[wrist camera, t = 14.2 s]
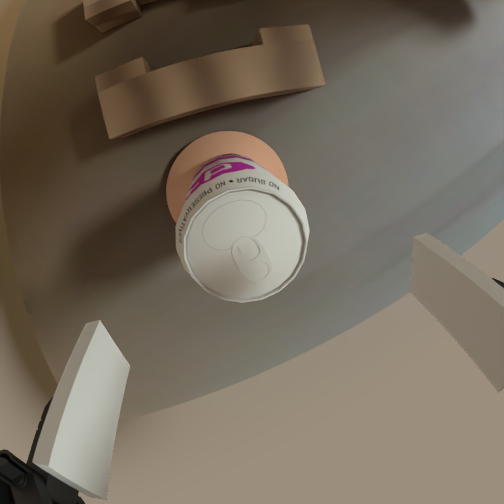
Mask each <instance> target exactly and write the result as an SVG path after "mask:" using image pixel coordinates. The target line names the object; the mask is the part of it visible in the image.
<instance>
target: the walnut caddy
mask: <svg viewBox="0 0 504 504" xmlns="http://www.w3.org/2000/svg"><path fill="white" fill-rule="evenodd" d="M153 1H156V0H83V5H84V14H85V20H86V21H87V22H89V23H90V24H91V25H92V26H94V27H95V28H96V29H97V30H99V31H100V32H101V33H103V32H105V31H108V30H110V29H112V28H115V27H117V26H119V25H122V24H124V23H127V22H129V21H132V20H135V19H138V18H140V17H142V15H141V10H140V6H141V5H144V4H146V3H149V2H153ZM94 78H95V82H96V87H97V92H98V96H99V101H100V105H101V109H102V113H103V117H104V121H105V125H106V129H107V132H108V136H109V139H116V138H123V137H127V136H130V135H132V134H135V133H138V132H140V131H143V130H146V129H149V128H152V127H154V126H157V125H160V124H163V123H166V122H169V121H173V120H176V119H179V118H182V117H186V116H189V115H193V114H196V113H200V112H203V111H207V110H211V109H215V108H219V107H223V106H227V105H231V104H236V103H240V102H245V101H250V100H255V99H260V98H265V97H271V96H277V95H283V94H289V93H296V92H304V91H309V90H312V89H315V88H318V87H321V86H324V85H325V82H324V78H323V74H322V70H321V66H320V62H319V58H318V54H317V51H316V47H315V43H314V40H313V36H312V33H311V30H310V26H309V24H308V25H289V26H277V27H268V28H259V30H258V32H257V34H256V36H255V38H254V39H253V41H252V46H250V47H244V48H238V49H233V50H228V51H223V52H218V53H214V54H209V55H205V56H201V57H197V58H193V59H190V60H186V61H182V62H179V63H176V64H172V65H169V66H166V67H163V68H160V69H157V70H153V67H152V66H151V65H150V64H149V63H148V62H147V61H146V60H145V59H144V58H143V57H140V58H138V59H135V60H132V61H130V62H127V63H125V64H122V65H120V66H117V67H115V68H113V69H110V70H108V71H106V72H104V73H101V74H99V75H97V76H95V77H94Z"/></svg>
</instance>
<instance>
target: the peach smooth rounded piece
mask: <svg viewBox="0 0 504 504" xmlns="http://www.w3.org/2000/svg"><path fill="white" fill-rule="evenodd" d="M230 153H234V154H239V155H243V156H247V157H249V158H250V159H252V160H253V161H255V162H256V163H258V164H259V165H260V166H262V167H263V168H264V169H266V170H267V171H268V172H270V173H271V174H272V175H273V176H275V177H276V178H277V179H279V180H280V181H281V182H283V183H284V184H285V185H286V186H288V180H287V175H286V171H285V169H284V166H283V164H282V162H281V160H280V159H279V157H278V156H277V154H276V153H275V152H274V151H273V150H272V149H271V148H270V147H269V146H268V145H267V144H266V143H264V142H263V141H262V140H260V139H258V138H256V137H254V136H252V135H249V134H246V133H242V132H237V131H220V132H215V133H211V134H208V135H205V136H203V137H201V138H199V139H197V140H195V141H194V142H192V143H191V144H189V145H188V146H187V147H186V148H185V149H184V150H183V151H182V152H181V153H180V154H179V156H178V157H177V158H176V160H175V162H174V163H173V165H172V167H171V170H170V172H169V176H168V179H167V185H166V197H167V203H168V207H169V211H170V213H171V215H172V217H173V219H174V221H175V223H176V224H177V221H178V218H179V215H180V213H181V210H182V207H183V204H184V201H185V199H186V196H187V193H188V191H189V188H190V185H191V183H192V180H193V178H194V175H195V173H196V171H197V170H198V169H199V168H200V167H201V166H202V165H203V164H204V163H205V162H206V161H208V160H210V159H212V158H213V157H215V156H217V155H222V154H230Z"/></svg>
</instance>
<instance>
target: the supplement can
mask: <svg viewBox="0 0 504 504" xmlns="http://www.w3.org/2000/svg"><path fill="white" fill-rule="evenodd" d="M308 237H309V226H308V221H307V216H306V211H305V208H304V207H303V205H302V204H301V202H300V201H299V199H298V198H297V196H296V195H295V193H294V192H293V190H291V189H290V188H289V187H288V186H286V185H285V184H284V183H283V182H281V181H280V180H279V179H277V178H276V177H275V176H273V175H272V174H271V173H270V172H268V171H267V170H266V169H264V168H263V167H262V166H260V165H259V164H258V163H256V162H255V161H253V160H252V159H250V158H249V157H247V156H243V155H239V154H234V153H230V154H222V155H217V156H215V157H213V158H212V159H210V160H208V161H206V162H205V163H204V164H203V165H202V166H201V167H200V168H199V169H198V170H197V171H196V173H195V175H194V178H193V180H192V183H191V185H190V188H189V191H188V193H187V196H186V199H185V201H184V204H183V207H182V210H181V213H180V215H179V218H178V221H177V224H176V250H177V253H178V255H179V257H180V260H181V262H182V265H183V267H184V269H185V270H186V271H187V272H188V273H189V274H190V276H191V277H192V278H193V279H194V280H195V281H196V282H197V283H198V284H199V285H200V286H201V287H202V288H203V289H204V290H205V291H206V292H208V293H210V294H212V295H214V296H216V297H218V298H220V299H222V300H228V301H235V302H242V303H243V302H250V301H256V300H262V299H264V298H267V297H269V296H271V295H273V294H275V293H277V292H279V291H281V290H282V289H283V288H284V287H285V286H286V285H287V284H288V283H289V282H291V281H292V280H293V279H294V278H295V276H296V275H297V273H298V271H299V269H300V267H301V266H302V264H303V262H304V259H305V254H306V249H307V243H308Z"/></svg>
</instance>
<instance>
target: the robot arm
mask: <svg viewBox="0 0 504 504" xmlns="http://www.w3.org/2000/svg"><path fill="white" fill-rule="evenodd" d="M410 292H411V293H412V294H413V295H414V296H415V297H416V298H417V299H418V300H419V301H420V302H421V303H422V304H423V305H424V306H425V307H426V309H427V310H429V312H430V313H431V314H432V315H433V316H434V317H435V318H436V319H437V320H438V321H439V322H440V323H441V325H442V326H443V327H444V328H445V329H446V330H447V331H448V332H449V333H450V335H451V336H452V337H453V338H454V339H455V340H456V341H457V343H458V344H459V345H460V346H461V347H462V348H463V349H464V351H465V352H466V353H467V354H468V355H469V357H470V358H471V359H472V360H473V361H474V362H475V364H476V365H477V366H478V367H479V369H480V370H481V371H482V372H483V373H484V375H485V376H486V377H487V379H488V380H489V381H490V382H491V384H492V385H493V386H494V387H495V389H496V390H497V391H498V392H499V391H501V390H502V389H503V388H504V283H503V282H501V281H498V280H496V279H494V278H492V279H491V278H490V277H489V276H487V275H486V274H485V273H483V272H482V271H481V270H480V269H478V268H477V267H475V266H474V265H473V264H471V263H470V262H469V261H467V260H466V259H465V258H463V257H462V256H460V255H459V254H458V253H456V252H455V251H453V250H452V249H450V248H449V247H447V246H446V245H445V244H443V243H442V242H440V241H439V240H437V239H436V238H434V237H432V236H431V235H429V234H428V233H424V234H421V235H418V236H415V237H413V256H412V270H411V282H410ZM129 369H130V365H129V363H128V362H127V361H126V359H125V358H124V356H123V355H122V353H121V352H120V350H119V349H118V347H117V346H116V344H115V343H114V341H113V340H112V338H111V337H110V335H109V334H108V332H107V330H106V329H105V327H104V326H103V324H102V322H101V321H100V320H98V321H93V322H89V323H86V324H85V326H84V328H83V330H82V332H81V335H80V337H79V339H78V341H77V343H76V345H75V347H74V349H73V352H72V354H71V356H70V358H69V360H68V363H67V365H66V367H65V370H64V372H63V374H62V377H61V379H60V382H59V384H58V386H57V389H56V392H55V394H54V397H52V398H51V400H50V401H49V402H48V404H47V405H46V406H45V408H44V411H43V414H42V417H41V421H40V423H39V425H38V430H37V431H36V434H35V438H34V440H33V444H32V447H31V451H30V454H29V457H28V460H27V463H26V464H25V463H24V462H23V461H21V460H20V459H18V458H17V457H16V456H14V455H13V454H12V453H11V452H9V451H8V450H1V451H0V504H85V502H84V501H83V500H82V499H81V497H79V496H78V492H79V491H80V492H81V493H83V494H85V495H87V496H89V497H93V498H98V499H104V500H107V492H108V483H109V475H110V467H111V460H112V454H113V447H114V441H115V435H116V430H117V424H118V419H119V414H120V409H121V404H122V399H123V395H124V390H125V386H126V381H127V377H128V373H129Z"/></svg>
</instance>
